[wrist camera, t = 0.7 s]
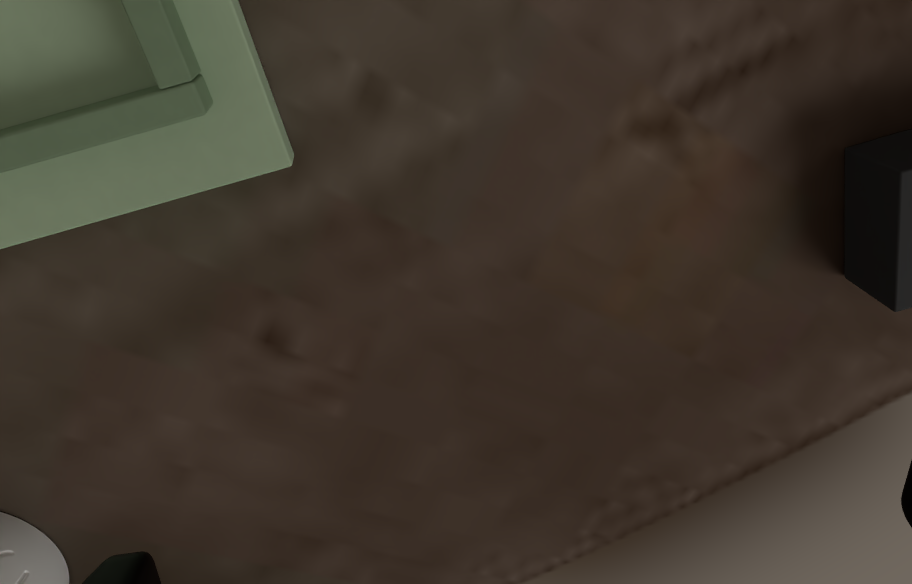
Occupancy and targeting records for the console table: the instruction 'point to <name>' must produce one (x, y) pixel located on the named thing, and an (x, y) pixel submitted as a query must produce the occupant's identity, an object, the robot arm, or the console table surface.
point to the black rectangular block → (880, 218)
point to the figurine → (28, 555)
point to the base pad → (126, 109)
